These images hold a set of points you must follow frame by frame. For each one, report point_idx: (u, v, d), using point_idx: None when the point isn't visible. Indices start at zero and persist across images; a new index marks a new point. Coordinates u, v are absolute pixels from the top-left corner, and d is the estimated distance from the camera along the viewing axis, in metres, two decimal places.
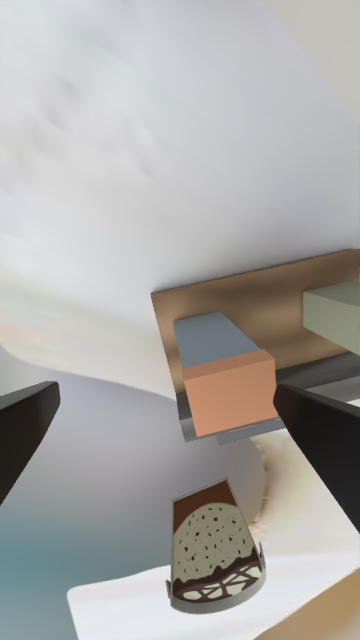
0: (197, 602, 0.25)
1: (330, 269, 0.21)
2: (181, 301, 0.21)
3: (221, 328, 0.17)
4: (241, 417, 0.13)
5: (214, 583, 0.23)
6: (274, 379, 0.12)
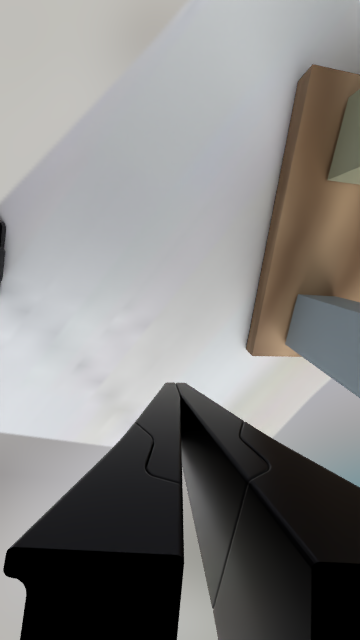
0: None
1: (317, 128, 0.15)
2: (268, 329, 0.20)
3: (332, 321, 0.15)
4: None
5: None
6: None
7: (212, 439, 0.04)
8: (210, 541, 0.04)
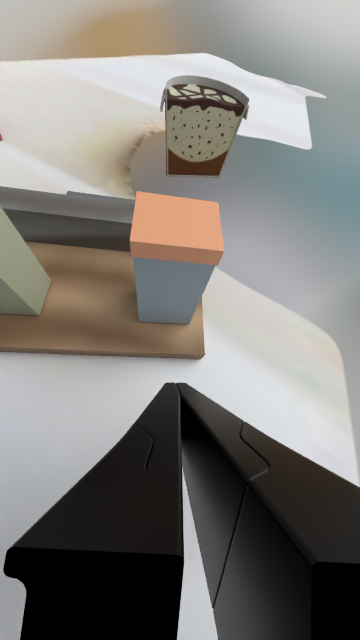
0: (226, 93, 0.29)
1: None
2: (175, 342, 0.20)
3: (151, 298, 0.16)
4: (173, 203, 0.13)
5: (210, 98, 0.27)
6: (133, 223, 0.11)
7: (212, 439, 0.04)
8: (210, 541, 0.04)
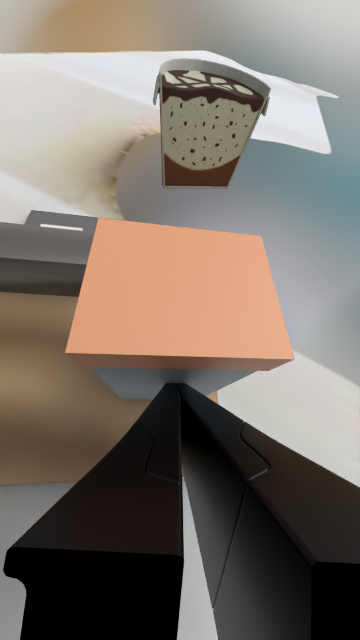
0: (238, 82, 0.22)
1: None
2: None
3: (137, 389, 0.10)
4: (175, 240, 0.06)
5: (219, 87, 0.20)
6: (81, 297, 0.05)
7: (212, 439, 0.04)
8: (210, 541, 0.04)
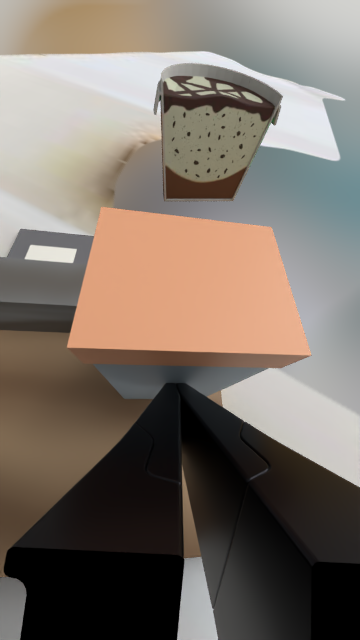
0: (246, 89, 0.21)
1: None
2: None
3: (141, 388, 0.09)
4: (182, 231, 0.06)
5: (226, 95, 0.18)
6: (84, 288, 0.05)
7: (212, 439, 0.04)
8: (210, 541, 0.04)
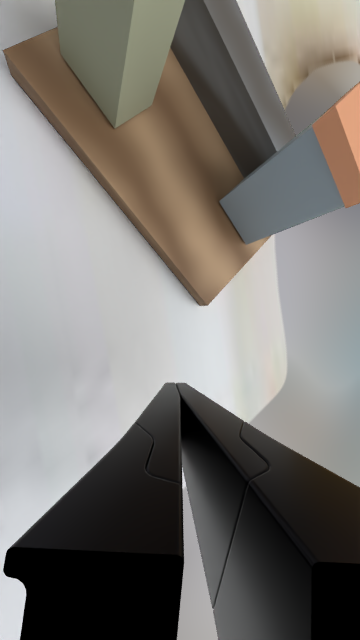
0: None
1: (63, 96, 0.14)
2: (197, 275, 0.19)
3: (259, 188, 0.16)
4: None
5: None
6: (348, 95, 0.11)
7: (212, 439, 0.04)
8: (210, 541, 0.04)
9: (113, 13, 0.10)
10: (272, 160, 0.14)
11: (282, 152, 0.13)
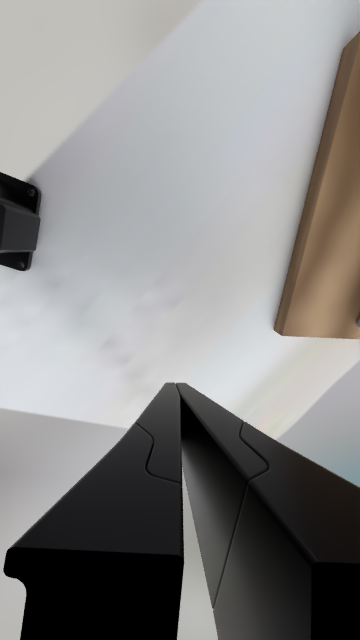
0: None
1: None
2: (300, 308, 0.20)
3: None
4: None
5: None
6: None
7: (212, 439, 0.04)
8: (210, 541, 0.04)
9: None
10: None
11: None
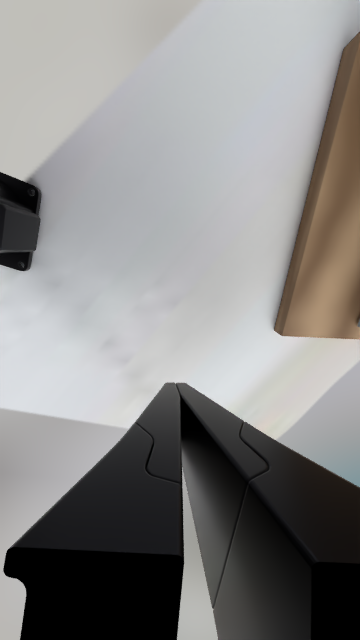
0: None
1: None
2: (300, 308, 0.20)
3: None
4: None
5: None
6: None
7: (212, 439, 0.04)
8: (210, 541, 0.04)
9: None
10: None
11: None
